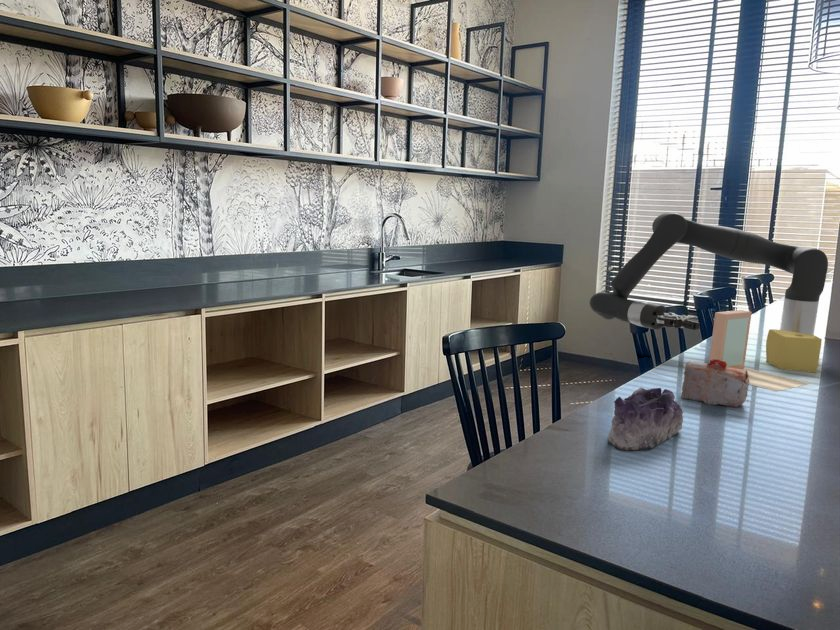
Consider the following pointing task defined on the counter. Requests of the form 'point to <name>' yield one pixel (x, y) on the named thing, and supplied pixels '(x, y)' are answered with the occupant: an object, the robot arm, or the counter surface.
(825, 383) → the counter surface
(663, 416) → the geode
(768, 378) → the mat
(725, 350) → the tile
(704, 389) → the food item
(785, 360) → the cheese
